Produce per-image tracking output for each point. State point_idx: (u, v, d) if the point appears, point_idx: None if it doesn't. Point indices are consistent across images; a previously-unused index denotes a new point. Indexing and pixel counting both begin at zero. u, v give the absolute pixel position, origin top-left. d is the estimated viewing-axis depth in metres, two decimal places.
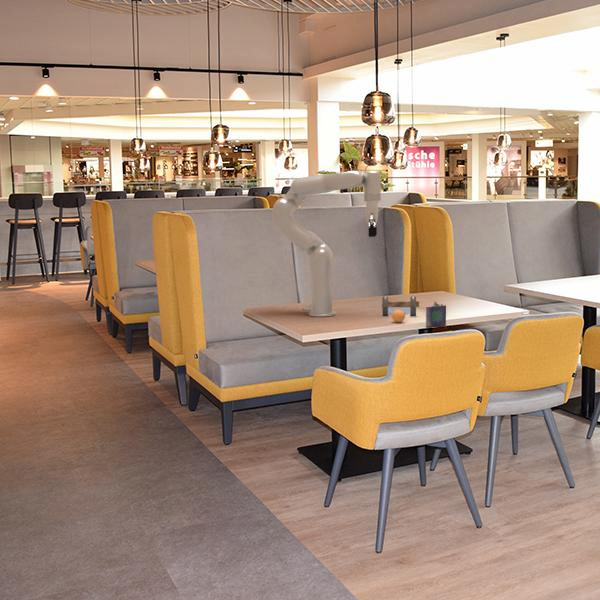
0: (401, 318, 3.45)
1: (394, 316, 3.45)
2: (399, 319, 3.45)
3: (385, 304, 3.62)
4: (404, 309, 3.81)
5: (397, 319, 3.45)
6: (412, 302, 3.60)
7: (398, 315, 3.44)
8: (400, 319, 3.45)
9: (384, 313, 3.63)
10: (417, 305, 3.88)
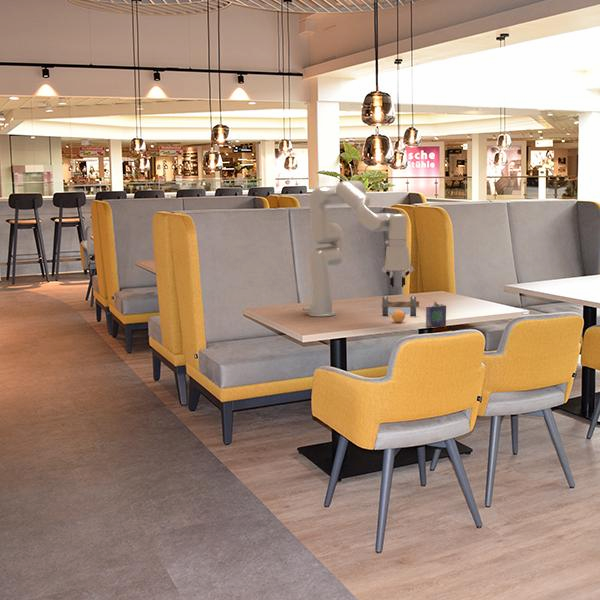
0: (401, 318, 3.45)
1: (394, 316, 3.45)
2: (399, 319, 3.45)
3: (385, 304, 3.62)
4: (404, 309, 3.81)
5: (397, 319, 3.45)
6: (412, 302, 3.60)
7: (398, 315, 3.44)
8: (400, 319, 3.45)
9: (384, 313, 3.63)
10: (417, 305, 3.88)
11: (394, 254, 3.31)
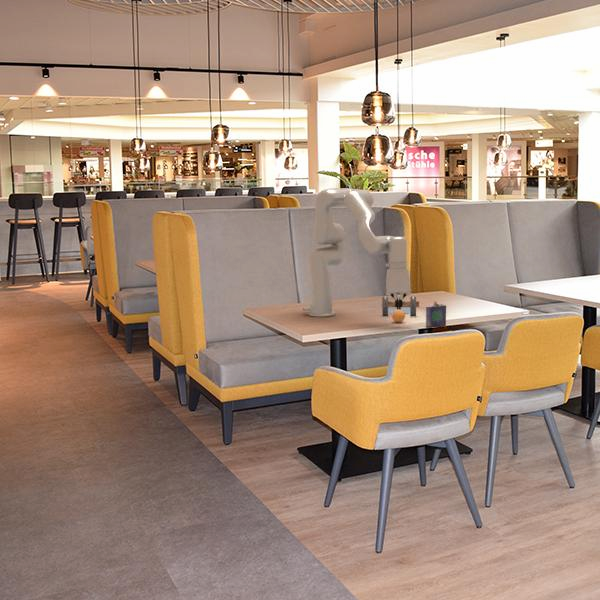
0: (401, 318, 3.45)
1: (394, 316, 3.45)
2: (399, 319, 3.45)
3: (385, 304, 3.62)
4: (404, 309, 3.81)
5: (397, 319, 3.45)
6: (412, 302, 3.60)
7: (398, 315, 3.44)
8: (400, 319, 3.45)
9: (384, 313, 3.63)
10: (417, 305, 3.88)
11: (395, 276, 3.32)
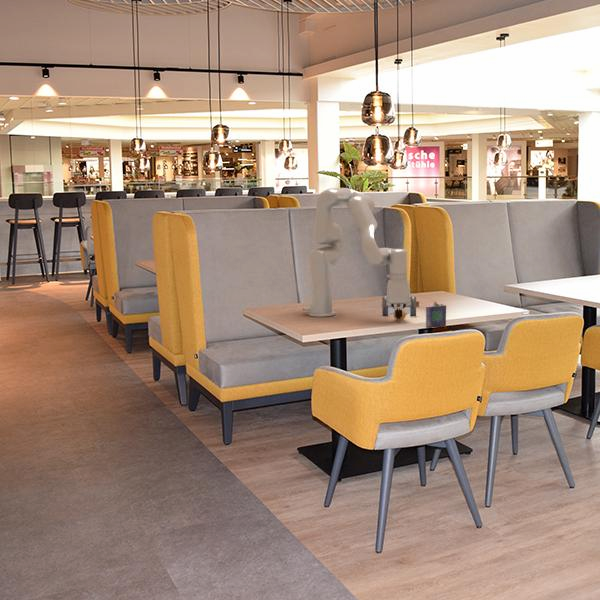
0: (402, 309, 3.51)
1: None
2: None
3: (385, 304, 3.62)
4: (404, 309, 3.81)
5: None
6: (412, 302, 3.60)
7: None
8: None
9: (384, 313, 3.63)
10: (417, 305, 3.88)
11: (395, 287, 3.44)
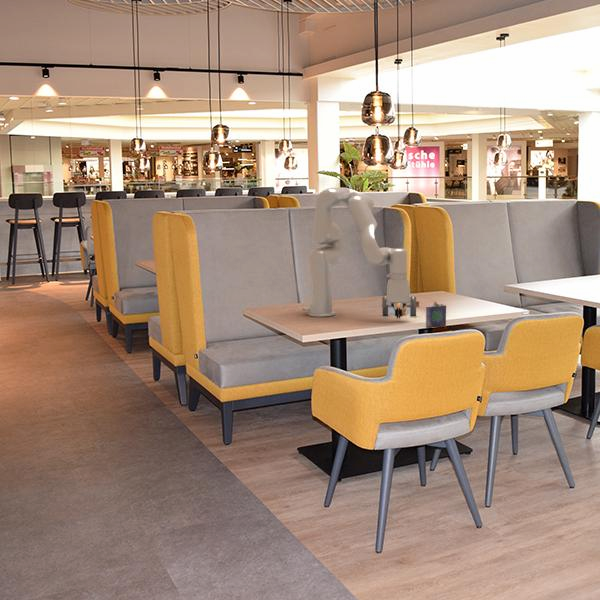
0: (403, 308, 3.64)
1: (397, 306, 3.65)
2: None
3: (385, 304, 3.62)
4: None
5: None
6: (412, 302, 3.60)
7: None
8: (402, 309, 3.64)
9: (384, 313, 3.63)
10: (417, 305, 3.88)
11: (395, 287, 3.46)
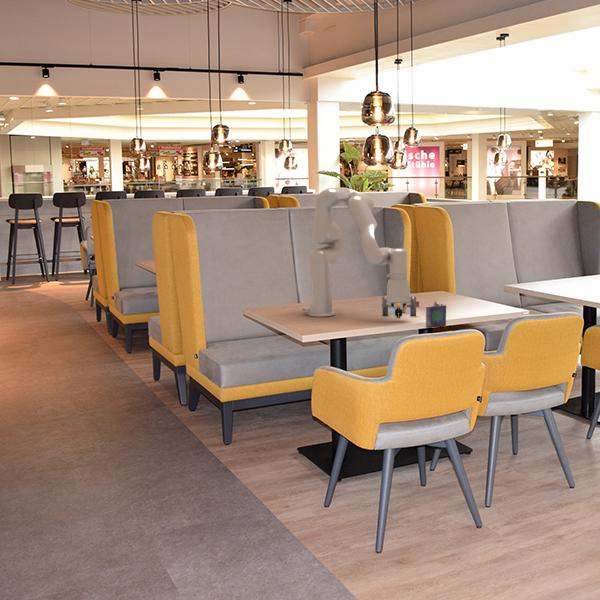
0: None
1: None
2: None
3: (385, 304, 3.62)
4: None
5: None
6: (412, 302, 3.60)
7: None
8: None
9: (384, 313, 3.63)
10: (417, 305, 3.88)
11: (395, 287, 3.46)
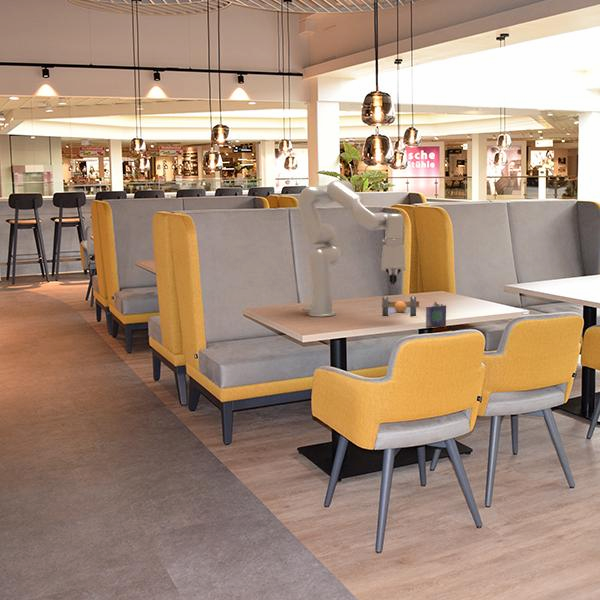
0: None
1: None
2: None
3: (385, 304, 3.62)
4: None
5: None
6: (412, 302, 3.60)
7: None
8: None
9: (384, 313, 3.63)
10: (417, 305, 3.88)
11: (390, 252, 3.43)
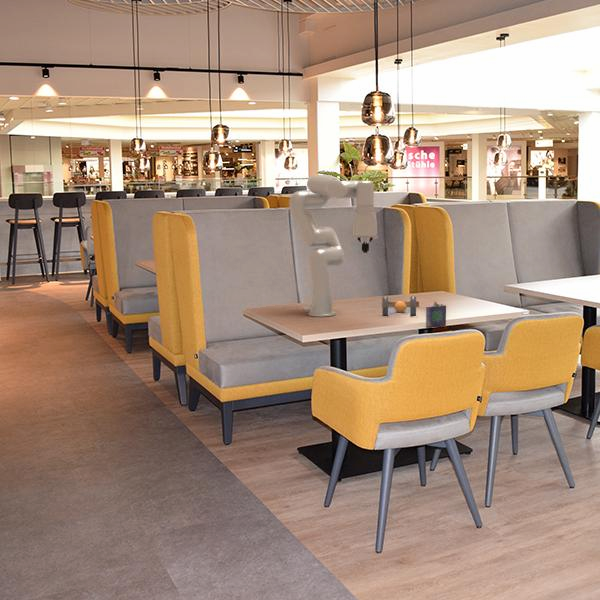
0: None
1: None
2: None
3: (385, 304, 3.62)
4: None
5: None
6: (412, 302, 3.60)
7: None
8: None
9: (384, 313, 3.63)
10: (417, 305, 3.88)
11: (361, 220, 3.37)
